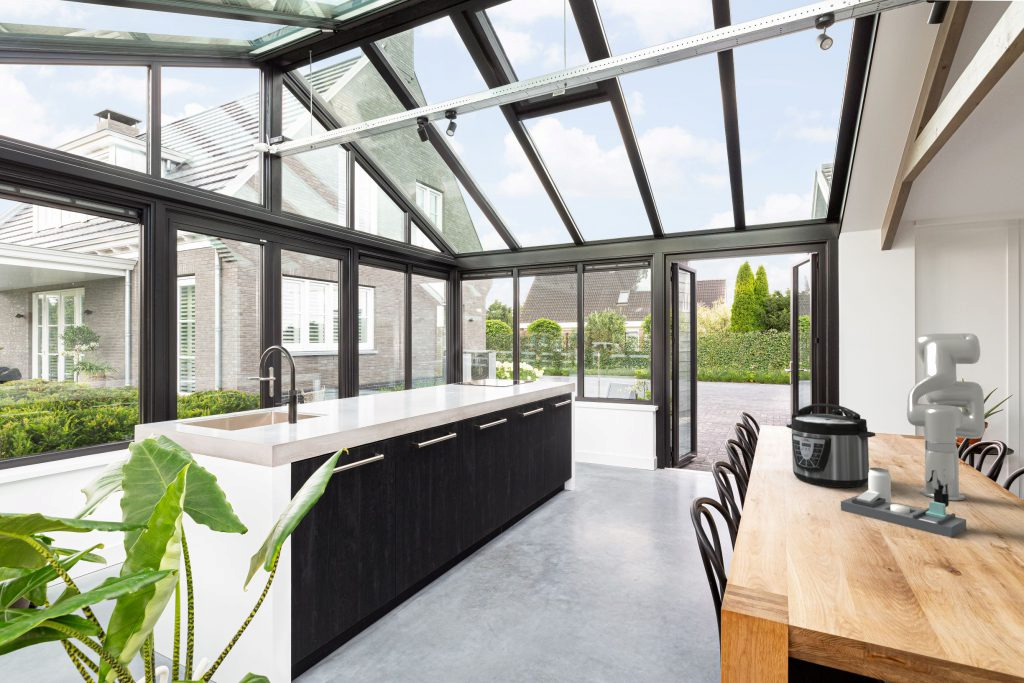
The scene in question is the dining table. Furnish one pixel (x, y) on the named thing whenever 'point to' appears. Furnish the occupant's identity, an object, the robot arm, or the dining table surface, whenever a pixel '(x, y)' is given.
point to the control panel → (906, 516)
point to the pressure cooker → (830, 447)
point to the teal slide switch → (936, 510)
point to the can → (880, 482)
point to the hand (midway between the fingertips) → (941, 505)
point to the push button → (900, 508)
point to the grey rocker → (869, 496)
